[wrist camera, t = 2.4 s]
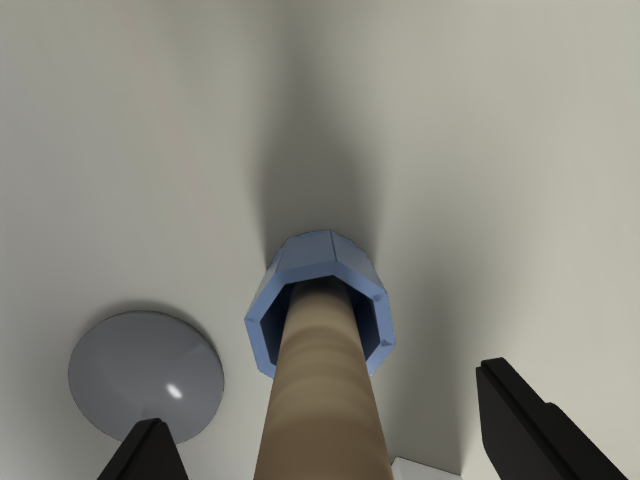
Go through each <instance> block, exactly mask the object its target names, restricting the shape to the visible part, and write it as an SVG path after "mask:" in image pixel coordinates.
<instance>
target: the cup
mask: <svg viewBox="0 0 640 480" xmlns="http://www.w3.org/2000/svg"><path fill="white" fill-rule="evenodd" d="M329 275H334V276H336V277H338V278H339V279H341V280H342V281H344V282H345V283H347V287H348V291H349V295H350V299H351V303H352V307H353V311H354V316H355V320H356V324H357V328H358V332H359V336H360V340H361V345H362V349H363V353H364V357H365V361H366V365H367V369H368V374H369V378H370V377H371V376H372V374H373V373H374V372H375V371H376V369H377V368H378V367H379V366H380V364H381V363H382V362H383V361H384V359H385V358H386V357H387V356H388V354H389V353H390V352H391V350H392V349H393V348H394V347H395V338H394V332H393V326H392V320H391V314H390V308H389V302H388V296H387V292H386V290H385V288H384V286H383V284H382V282H381V281H380V279H379V277H378V275H377V273H376V271H375V269H374V267H373V266H372V264H371V262H370V260H369V258H368V256H367V254H366V253H365V251H363V250H361V249H360V248H358V247H357V246H356V245H355V244H354V243H353V242H352V241H350V240H349V239H347V238H345V237H343V236H341V235H339V234H337V233H335V232H334V231H332V230H331V231H330V230H325V231H314V232H308V233H304V234H301V235H299V236H295V237H290V238H289V239H287V241H286V242H285V244H284V245H283V246H282V247H281V248H280V250H279V251H278V252H277V254H276V255H275V257H274V259H273V261H272V263H271V265H270V267H269V268H268V270H267V271H266V274H265V276H264V278H263V280H262V282H261V284H260V286H259V288H258V291H257V293H256V295H255V297H254V299H253V301H252V303H251V305H250V308H249V310H248V312H247V314H246V316H245V319H244V321H245V325H246V328H247V332H248V335H249V339H250V342H251V346H252V349H253V353H254V357H255V360H256V364H257V367H258V370H259V369H260V370H259V371H260V372H262V373H264V374H265V375H267V376H269V377H271V378H273V379H274V375H275V370H276V365H277V360H278V355H279V351H280V346H281V341H282V336H283V331H284V326H285V321H286V316H287V311H288V306H289V301H290V296H291V291H292V286H293V282H298V281H303V280H309V279H314V278H319V277H324V276H329Z"/></svg>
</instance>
